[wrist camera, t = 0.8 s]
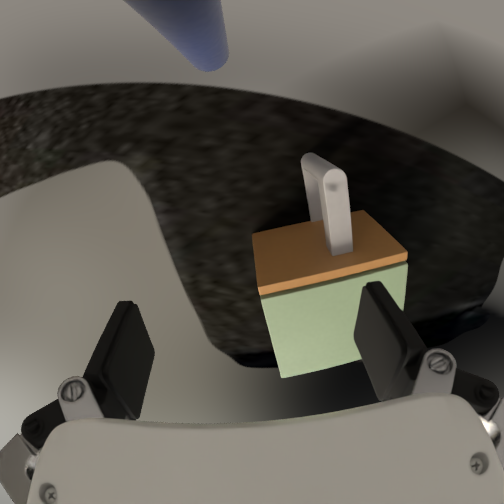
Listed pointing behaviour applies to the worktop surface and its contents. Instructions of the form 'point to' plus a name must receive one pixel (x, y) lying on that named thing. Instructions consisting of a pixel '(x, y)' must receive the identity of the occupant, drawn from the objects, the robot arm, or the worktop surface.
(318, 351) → the cupboard
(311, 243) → the door
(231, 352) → the worktop surface
